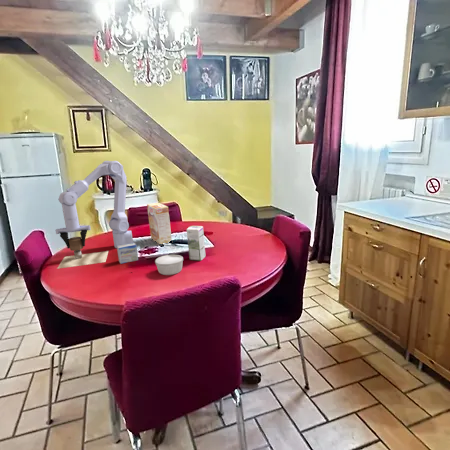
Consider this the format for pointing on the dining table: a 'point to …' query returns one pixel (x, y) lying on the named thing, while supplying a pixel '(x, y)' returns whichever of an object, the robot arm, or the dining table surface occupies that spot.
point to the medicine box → (127, 253)
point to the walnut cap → (75, 243)
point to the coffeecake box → (159, 223)
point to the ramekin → (169, 264)
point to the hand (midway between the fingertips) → (76, 246)
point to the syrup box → (196, 242)
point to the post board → (83, 259)
